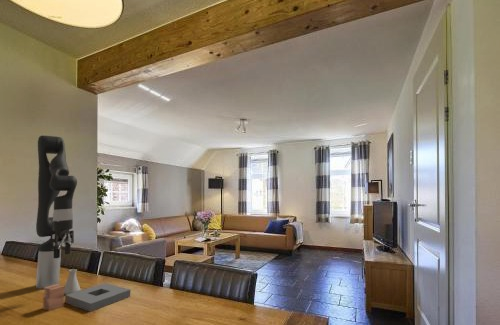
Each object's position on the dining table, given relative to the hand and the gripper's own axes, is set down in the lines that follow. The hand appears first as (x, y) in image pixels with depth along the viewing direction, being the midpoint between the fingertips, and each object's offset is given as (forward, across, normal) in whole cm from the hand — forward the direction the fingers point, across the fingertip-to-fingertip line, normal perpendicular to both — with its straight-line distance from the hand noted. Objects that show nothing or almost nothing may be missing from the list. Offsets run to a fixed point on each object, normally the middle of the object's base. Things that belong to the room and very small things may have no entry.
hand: (62, 256), depth 125 cm
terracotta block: (+18, +11, +3) cm, 21 cm away
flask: (+18, -6, +1) cm, 19 cm away
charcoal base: (+19, +4, +17) cm, 26 cm away
